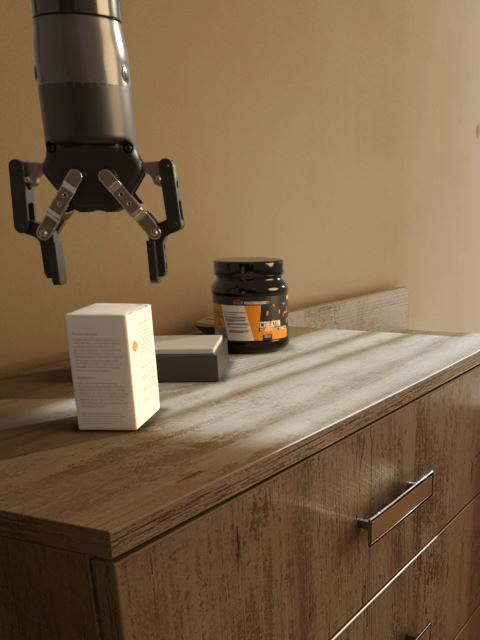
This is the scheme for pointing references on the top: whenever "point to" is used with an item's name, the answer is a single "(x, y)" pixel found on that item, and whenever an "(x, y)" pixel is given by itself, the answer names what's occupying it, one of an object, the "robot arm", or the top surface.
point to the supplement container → (251, 304)
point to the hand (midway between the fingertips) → (108, 283)
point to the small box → (113, 365)
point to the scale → (190, 357)
